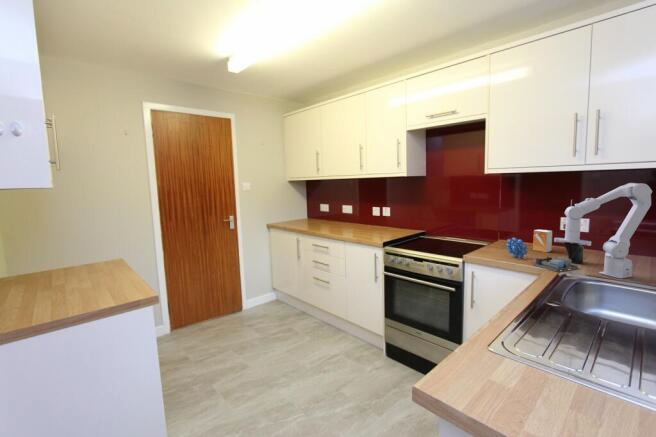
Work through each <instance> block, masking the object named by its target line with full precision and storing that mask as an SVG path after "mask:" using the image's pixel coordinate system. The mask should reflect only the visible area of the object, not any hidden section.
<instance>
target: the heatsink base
mask: <svg viewBox="0 0 656 437" xmlns="http://www.w3.org/2000/svg"><path fill="white" fill-rule="evenodd" d="M555 259H558V260H562V261H565V262H564V267H559V266H558V265H554V264H550V263H546V262H550V260H553V258H552V257H550V256H546V257H541V258H539V257H538V258H537V257H536V258H535V262H532V266H534V267H539V268H543V269H546V270H549V271H552V270H554V271H553V272H556V271H559V272H561V271H560V270H566V271H569V270H568V269H572V270H577V269H579V266H578V265H576V264H572V263H571V259H568V257H562V256H558V257H555V258H554V260H555Z"/></svg>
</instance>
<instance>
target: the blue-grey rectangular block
mask: <svg viewBox="0 0 656 437" xmlns="http://www.w3.org/2000/svg"><path fill="white" fill-rule="evenodd" d="M564 262H565V261H562V260H558V259H555V258H554V259H552V260H550V262H546V263H550V264H554V265H558V266H559V267H564Z"/></svg>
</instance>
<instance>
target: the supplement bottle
mask: <svg viewBox="0 0 656 437" xmlns="http://www.w3.org/2000/svg"><path fill="white" fill-rule="evenodd" d="M573 243H574V242H573ZM584 249H585V248H584V245H583V246H582V245H579V246H578V248H577V249H576V251H575V253H574V256H573V258H569V256H568V255H567V259H571V264H574V265H577V264H578V265H581V264H583V263H584V253H585V252H584Z"/></svg>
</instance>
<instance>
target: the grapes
mask: <svg viewBox="0 0 656 437" xmlns="http://www.w3.org/2000/svg"><path fill="white" fill-rule="evenodd" d="M505 247H506V249H507V253H508V254H511V255H512V256H513V257H514V258H521V259H522V258H525V255H527V254H528V250H527V249H528V246H527V245H526V244H525V243H524V240H522V239H520V238H519V239H517V238H516V237H512V238H508V239H507V243H506V244H505Z"/></svg>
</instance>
